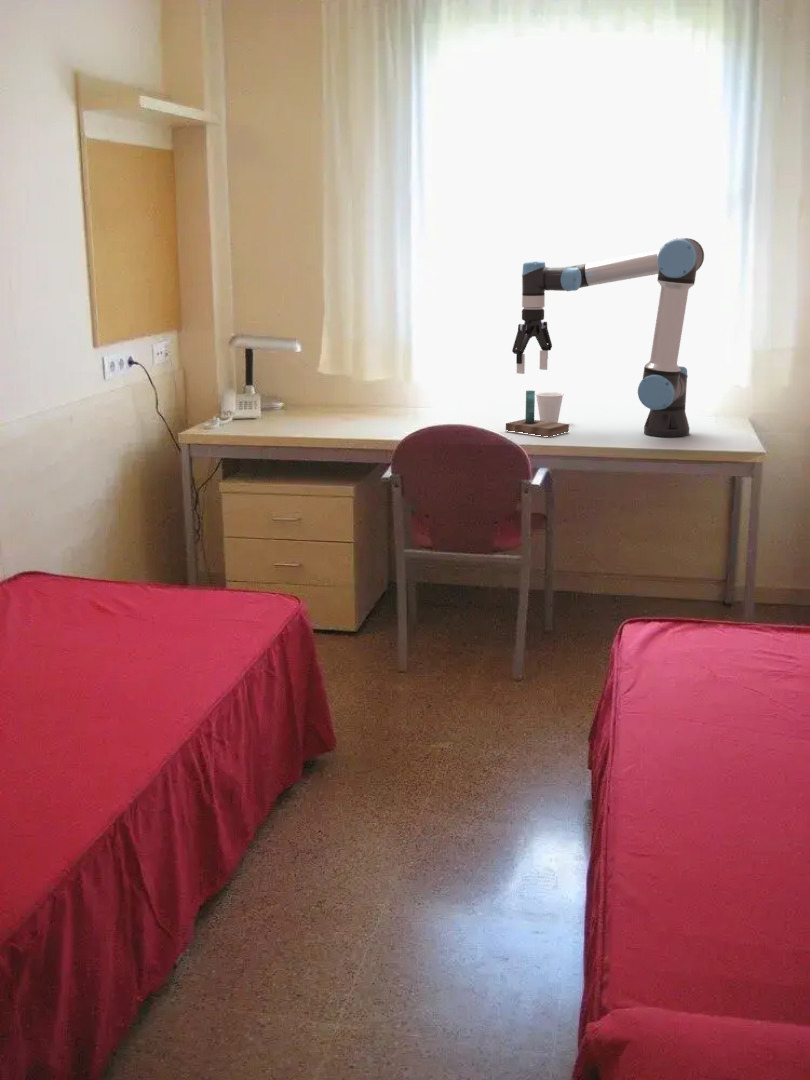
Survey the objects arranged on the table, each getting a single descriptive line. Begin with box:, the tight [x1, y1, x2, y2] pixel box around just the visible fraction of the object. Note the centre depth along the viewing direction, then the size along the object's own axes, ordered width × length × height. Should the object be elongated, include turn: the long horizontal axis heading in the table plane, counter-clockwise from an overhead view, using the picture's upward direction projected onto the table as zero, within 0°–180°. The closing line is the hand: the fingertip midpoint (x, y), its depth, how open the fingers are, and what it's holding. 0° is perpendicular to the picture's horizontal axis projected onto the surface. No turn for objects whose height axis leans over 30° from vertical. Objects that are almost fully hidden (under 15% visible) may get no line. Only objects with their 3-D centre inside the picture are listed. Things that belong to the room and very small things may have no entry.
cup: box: [535, 391, 564, 423], centre depth 411 cm, size 10×10×11 cm
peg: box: [525, 390, 536, 424], centre depth 397 cm, size 3×3×14 cm
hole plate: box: [505, 418, 570, 438], centre depth 397 cm, size 18×12×3 cm, turn 49°
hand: (532, 371), depth 394 cm, fingers open, 13 cm apart
